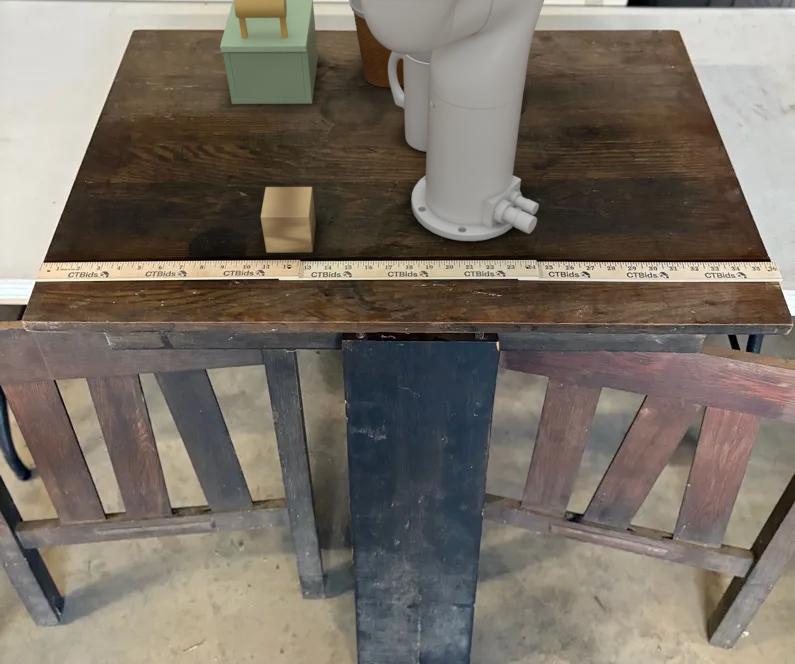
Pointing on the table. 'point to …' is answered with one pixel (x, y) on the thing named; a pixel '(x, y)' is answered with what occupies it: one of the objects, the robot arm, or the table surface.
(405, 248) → the table surface
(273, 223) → the block
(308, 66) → the chest
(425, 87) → the mug
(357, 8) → the disposable coffee cup
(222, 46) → the lid
